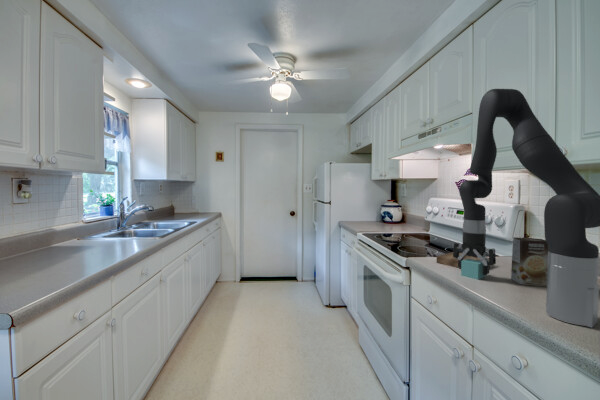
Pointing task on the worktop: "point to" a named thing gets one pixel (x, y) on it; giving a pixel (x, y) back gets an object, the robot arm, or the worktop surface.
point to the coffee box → (529, 261)
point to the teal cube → (472, 268)
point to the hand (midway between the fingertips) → (473, 271)
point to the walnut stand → (452, 259)
